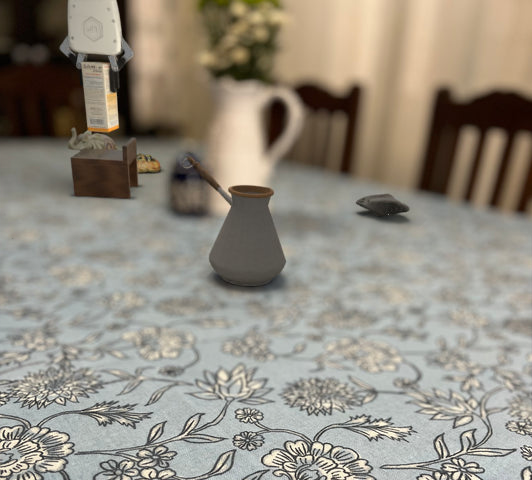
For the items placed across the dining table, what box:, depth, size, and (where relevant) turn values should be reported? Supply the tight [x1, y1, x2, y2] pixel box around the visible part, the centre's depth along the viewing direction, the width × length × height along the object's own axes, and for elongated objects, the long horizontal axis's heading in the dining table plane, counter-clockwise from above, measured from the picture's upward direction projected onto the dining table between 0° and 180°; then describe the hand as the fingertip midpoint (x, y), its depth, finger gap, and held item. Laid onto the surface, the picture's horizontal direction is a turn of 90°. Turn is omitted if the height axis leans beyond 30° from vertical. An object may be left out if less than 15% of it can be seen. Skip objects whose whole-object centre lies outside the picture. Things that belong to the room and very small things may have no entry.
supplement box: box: [81, 61, 120, 133], centre depth 111 cm, size 8×5×13 cm, turn 178°
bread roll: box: [137, 152, 162, 174], centre depth 145 cm, size 11×11×5 cm
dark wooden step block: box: [70, 137, 139, 200], centre depth 118 cm, size 12×14×11 cm
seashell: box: [355, 193, 411, 218], centre depth 116 cm, size 12×6×10 cm
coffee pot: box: [181, 155, 287, 287], centre depth 77 cm, size 21×12×15 cm, turn 42°
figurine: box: [67, 127, 119, 152], centre depth 129 cm, size 10×14×15 cm, turn 138°
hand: (100, 90), depth 111 cm, fingers closed on supplement box, 5 cm apart
